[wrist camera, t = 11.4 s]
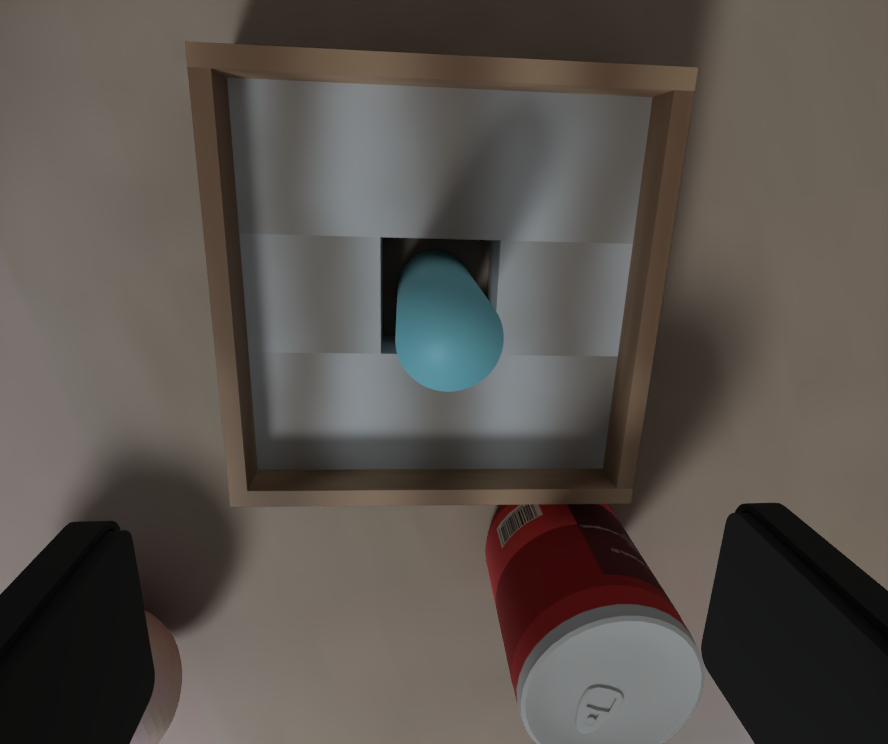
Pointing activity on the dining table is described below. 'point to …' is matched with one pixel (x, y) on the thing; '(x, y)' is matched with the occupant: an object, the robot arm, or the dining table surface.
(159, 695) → the decorative fruit
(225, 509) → the dining table surface
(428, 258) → the peg
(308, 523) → the dining table surface
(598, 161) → the bore box
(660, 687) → the canned food
